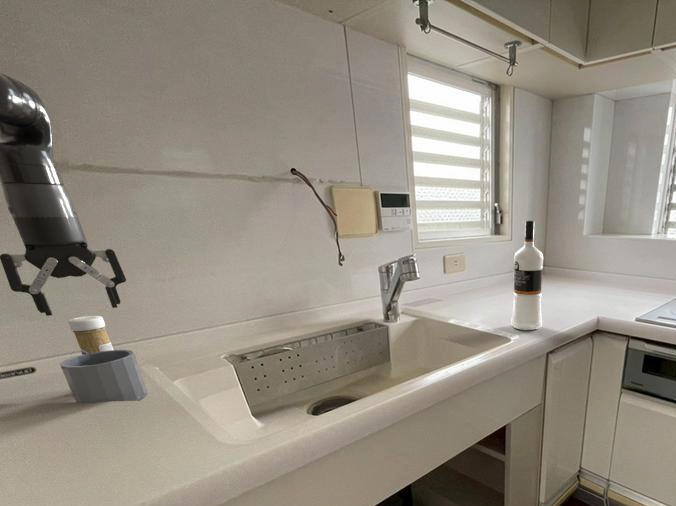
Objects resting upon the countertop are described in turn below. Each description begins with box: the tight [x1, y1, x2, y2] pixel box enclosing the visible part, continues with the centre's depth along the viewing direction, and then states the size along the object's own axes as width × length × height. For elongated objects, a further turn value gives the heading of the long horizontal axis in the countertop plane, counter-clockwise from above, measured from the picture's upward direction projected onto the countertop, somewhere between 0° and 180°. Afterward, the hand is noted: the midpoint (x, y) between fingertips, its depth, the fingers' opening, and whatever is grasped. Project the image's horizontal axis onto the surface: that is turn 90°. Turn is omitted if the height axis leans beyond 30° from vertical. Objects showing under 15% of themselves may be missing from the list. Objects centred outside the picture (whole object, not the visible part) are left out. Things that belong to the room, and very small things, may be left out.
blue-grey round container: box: [59, 349, 148, 404], centre depth 70 cm, size 9×9×8 cm
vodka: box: [510, 220, 544, 331], centre depth 116 cm, size 9×9×30 cm
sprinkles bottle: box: [67, 315, 115, 355], centre depth 76 cm, size 5×5×13 cm
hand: (83, 310), depth 73 cm, fingers open, 8 cm apart
